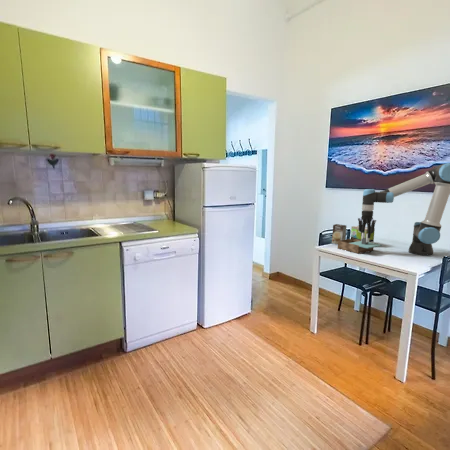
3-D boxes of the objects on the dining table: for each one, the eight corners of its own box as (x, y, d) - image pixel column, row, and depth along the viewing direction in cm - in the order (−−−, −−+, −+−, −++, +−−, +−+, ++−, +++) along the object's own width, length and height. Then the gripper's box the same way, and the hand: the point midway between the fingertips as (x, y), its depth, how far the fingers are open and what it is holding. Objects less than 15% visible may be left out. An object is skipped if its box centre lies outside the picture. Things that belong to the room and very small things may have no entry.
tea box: (349, 243, 240) (351, 226, 238) (358, 242, 244) (359, 225, 242) (365, 247, 227) (366, 228, 224) (373, 245, 231) (375, 228, 228)
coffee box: (331, 243, 239) (332, 224, 237) (335, 242, 243) (336, 223, 241) (341, 245, 232) (343, 226, 230) (345, 244, 236) (346, 225, 234)
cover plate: (382, 245, 207) (382, 239, 207) (367, 248, 200) (368, 241, 199) (362, 241, 221) (362, 235, 220) (348, 244, 214) (348, 237, 213)
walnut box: (373, 250, 214) (373, 242, 213) (357, 253, 206) (358, 245, 205) (352, 245, 230) (353, 238, 229) (337, 248, 221) (338, 240, 220)
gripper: (354, 209, 211) (352, 240, 215) (374, 211, 198) (372, 244, 201) (361, 209, 215) (358, 239, 219) (381, 211, 201) (378, 243, 205)
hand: (365, 241), depth 210 cm, fingers closed on cover plate, 3 cm apart
